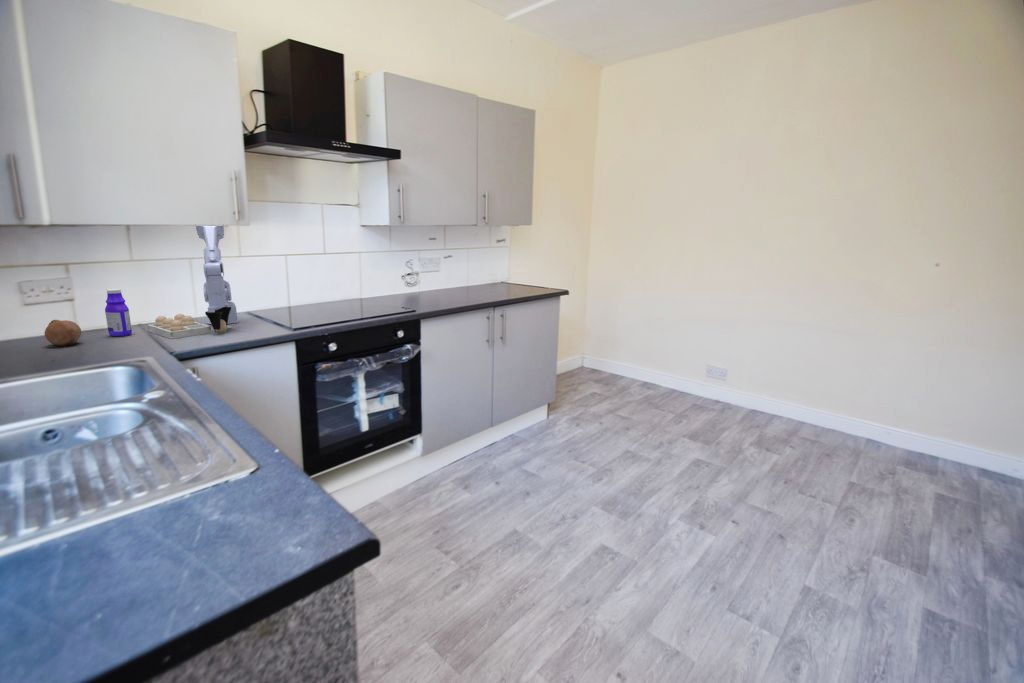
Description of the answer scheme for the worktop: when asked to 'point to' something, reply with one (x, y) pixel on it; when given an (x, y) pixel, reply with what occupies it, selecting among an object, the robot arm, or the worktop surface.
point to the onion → (62, 332)
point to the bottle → (117, 314)
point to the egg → (222, 327)
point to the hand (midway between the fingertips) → (220, 327)
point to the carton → (178, 327)
